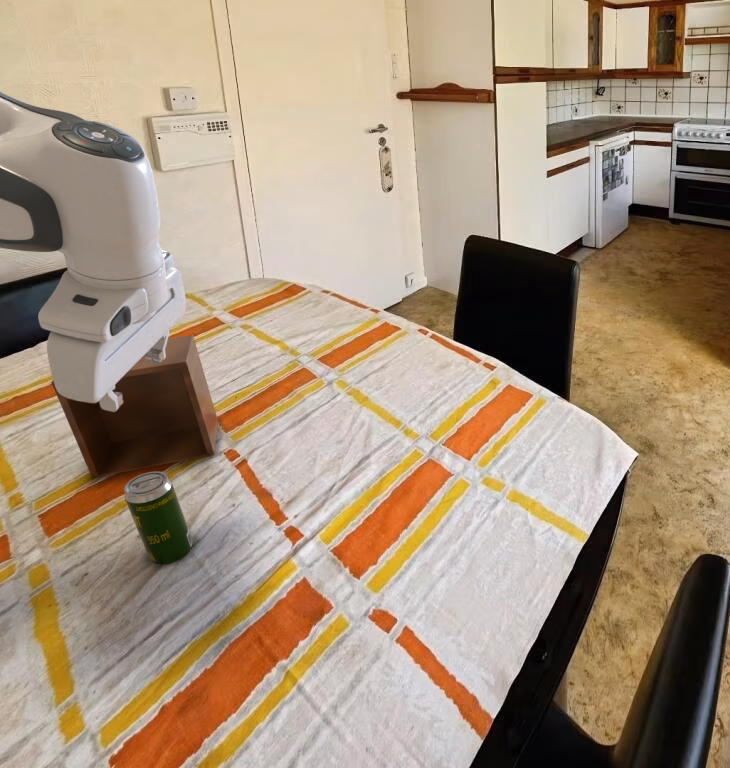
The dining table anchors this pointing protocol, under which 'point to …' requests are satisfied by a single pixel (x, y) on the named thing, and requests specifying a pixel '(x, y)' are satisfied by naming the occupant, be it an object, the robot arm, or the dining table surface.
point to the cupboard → (149, 415)
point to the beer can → (158, 517)
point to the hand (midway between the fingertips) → (135, 382)
